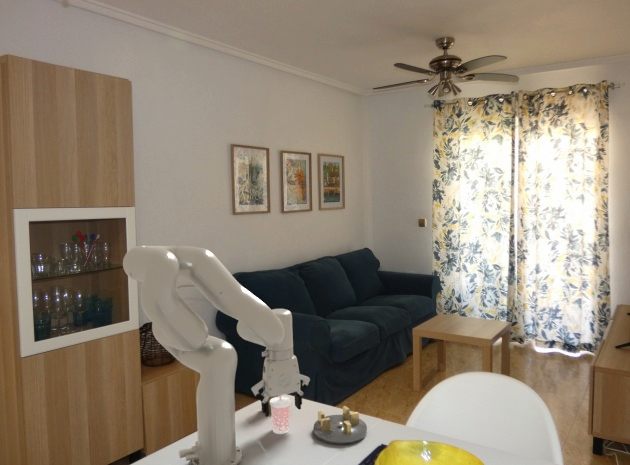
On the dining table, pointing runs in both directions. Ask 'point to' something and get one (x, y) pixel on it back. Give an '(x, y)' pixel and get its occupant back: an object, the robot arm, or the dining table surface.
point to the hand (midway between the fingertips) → (282, 410)
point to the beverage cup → (280, 414)
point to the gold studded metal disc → (340, 428)
